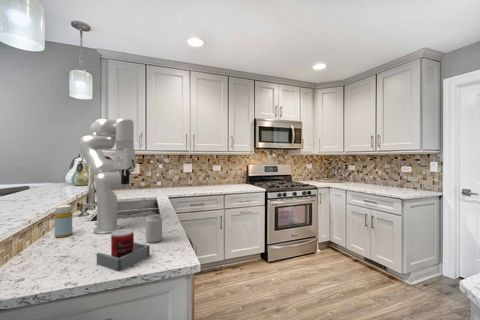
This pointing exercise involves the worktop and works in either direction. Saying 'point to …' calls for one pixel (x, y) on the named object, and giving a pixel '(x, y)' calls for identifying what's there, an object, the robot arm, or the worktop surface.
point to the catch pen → (124, 257)
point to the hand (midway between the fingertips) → (125, 184)
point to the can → (153, 228)
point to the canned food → (122, 242)
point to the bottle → (63, 221)
